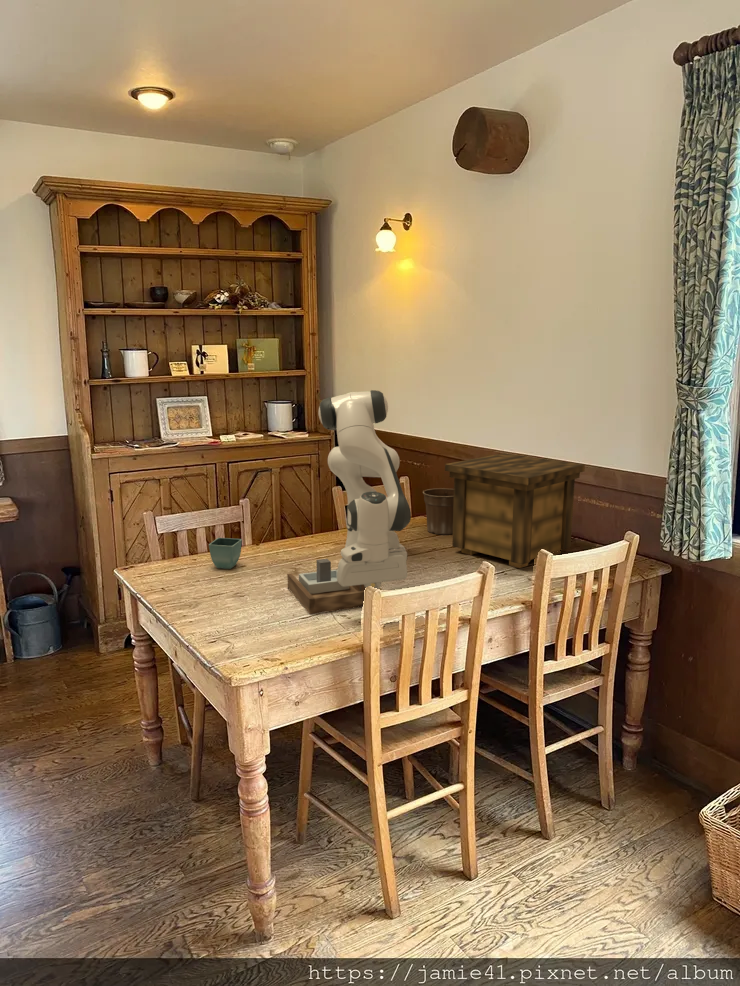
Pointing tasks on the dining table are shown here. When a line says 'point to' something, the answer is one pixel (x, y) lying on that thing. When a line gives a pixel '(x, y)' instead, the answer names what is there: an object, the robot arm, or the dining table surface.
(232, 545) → the flower pot
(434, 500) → the plant pot
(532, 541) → the crate
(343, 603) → the tray
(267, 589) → the dining table surface
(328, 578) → the shallow grey tray
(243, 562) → the dining table surface
